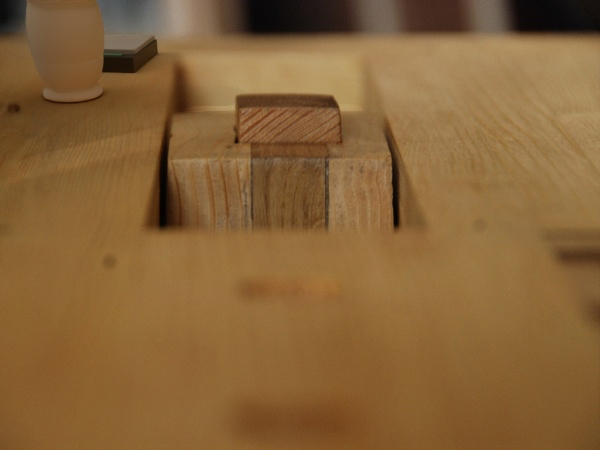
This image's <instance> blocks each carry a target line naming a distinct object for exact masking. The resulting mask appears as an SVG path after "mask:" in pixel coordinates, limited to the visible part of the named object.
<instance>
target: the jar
mask: <svg viewBox="0 0 600 450" xmlns="http://www.w3.org/2000/svg"><path fill="white" fill-rule="evenodd" d="M25 1H26V9H25V31H26V38H27V43H28V46H29V50H30V53H31V56H32V59H33V63H34V67H35V70H36V73H37V74H38V77H39V78H40V80H41V82H42V83H43V84H44V88H43V90H42V96H43V97H42V98H44V99H46V100H48V101H52V102H57V103H76V102H84V101H90V100H93V99H96V98H98V97H100V96H101V95H102V94H103V91H104V90H103V87H102V86H101V85H100V83H99V81H100V79H101V76H102V73H103V72H102V69H103V52H104V34H105V28H104V27H105V25H104V21H103V17H102V12H101V9H100V6H99V5H100V4H99V3H98V1H97V0H25Z"/></svg>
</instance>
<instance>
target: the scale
mask: <svg viewBox="0 0 600 450" xmlns="http://www.w3.org/2000/svg"><path fill="white" fill-rule="evenodd" d="M158 53H159V51H158V39H156V38H155V34H130V33H128V34H127V33H126V34H125V33H124V34H123V33H104V52H103V69H102V73H133V74H134V73H136V72H137V71H138V70H140V69H141V68H142V67H143V66H145V64H147V63H148V62H149V61H150V60H152V59H153V58H154V57H155V56H157V54H158Z"/></svg>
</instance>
